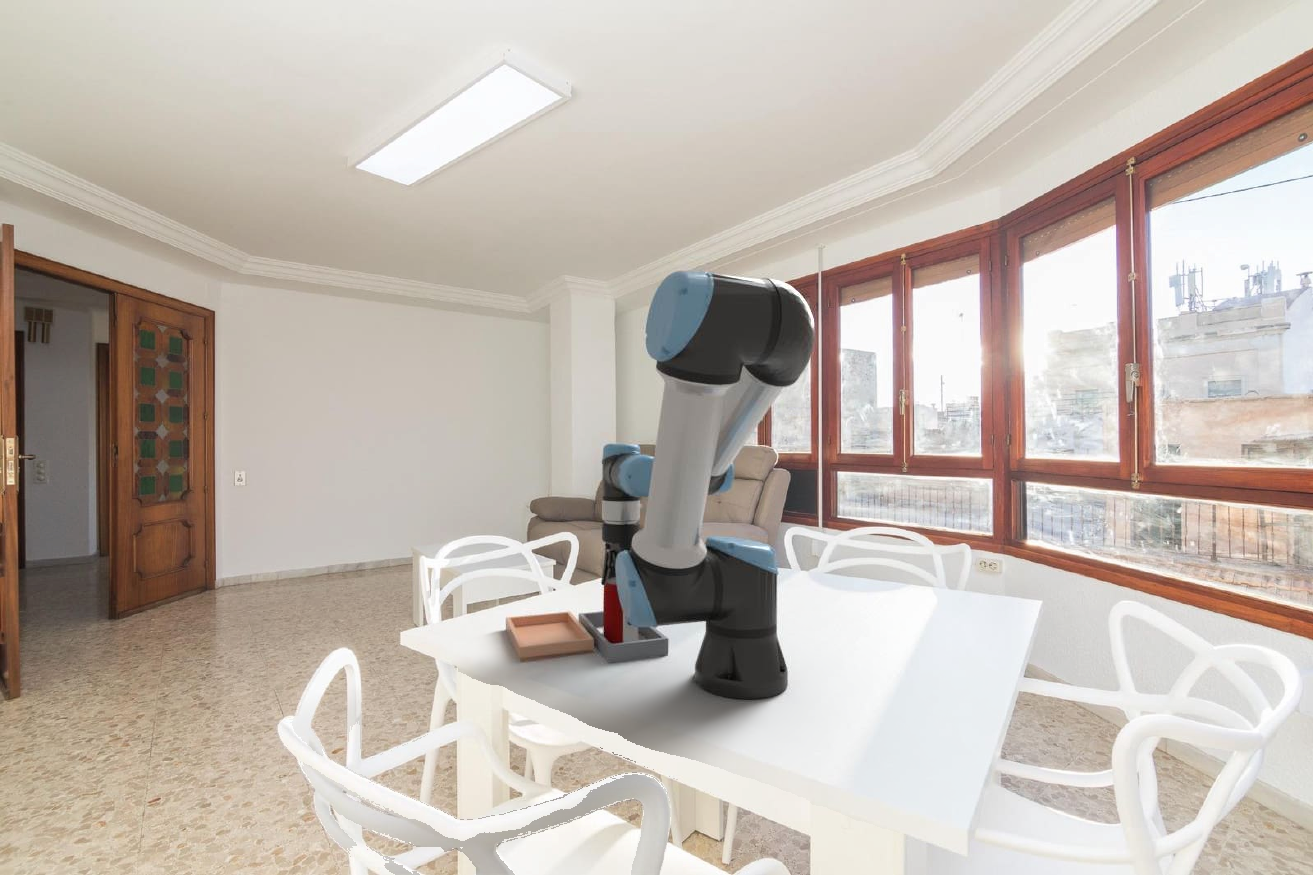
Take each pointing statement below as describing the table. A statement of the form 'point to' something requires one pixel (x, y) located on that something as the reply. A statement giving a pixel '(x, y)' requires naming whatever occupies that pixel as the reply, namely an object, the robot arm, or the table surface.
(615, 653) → the grey bin
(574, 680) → the table surface
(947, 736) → the table surface
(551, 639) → the terracotta dish
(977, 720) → the table surface
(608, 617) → the beverage can
